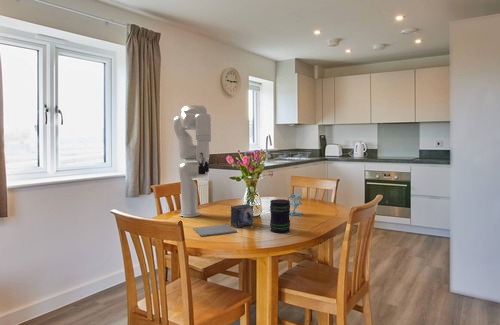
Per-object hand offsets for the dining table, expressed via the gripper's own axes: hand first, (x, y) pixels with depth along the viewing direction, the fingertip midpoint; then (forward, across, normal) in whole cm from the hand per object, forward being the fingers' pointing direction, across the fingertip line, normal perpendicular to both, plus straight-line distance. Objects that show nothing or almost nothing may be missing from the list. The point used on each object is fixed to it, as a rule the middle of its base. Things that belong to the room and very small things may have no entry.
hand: (203, 173), depth 181 cm
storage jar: (+29, +2, +38) cm, 48 cm away
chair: (+29, -36, +47) cm, 66 cm away
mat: (+29, +3, +6) cm, 29 cm away
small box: (+29, -8, +18) cm, 35 cm away
